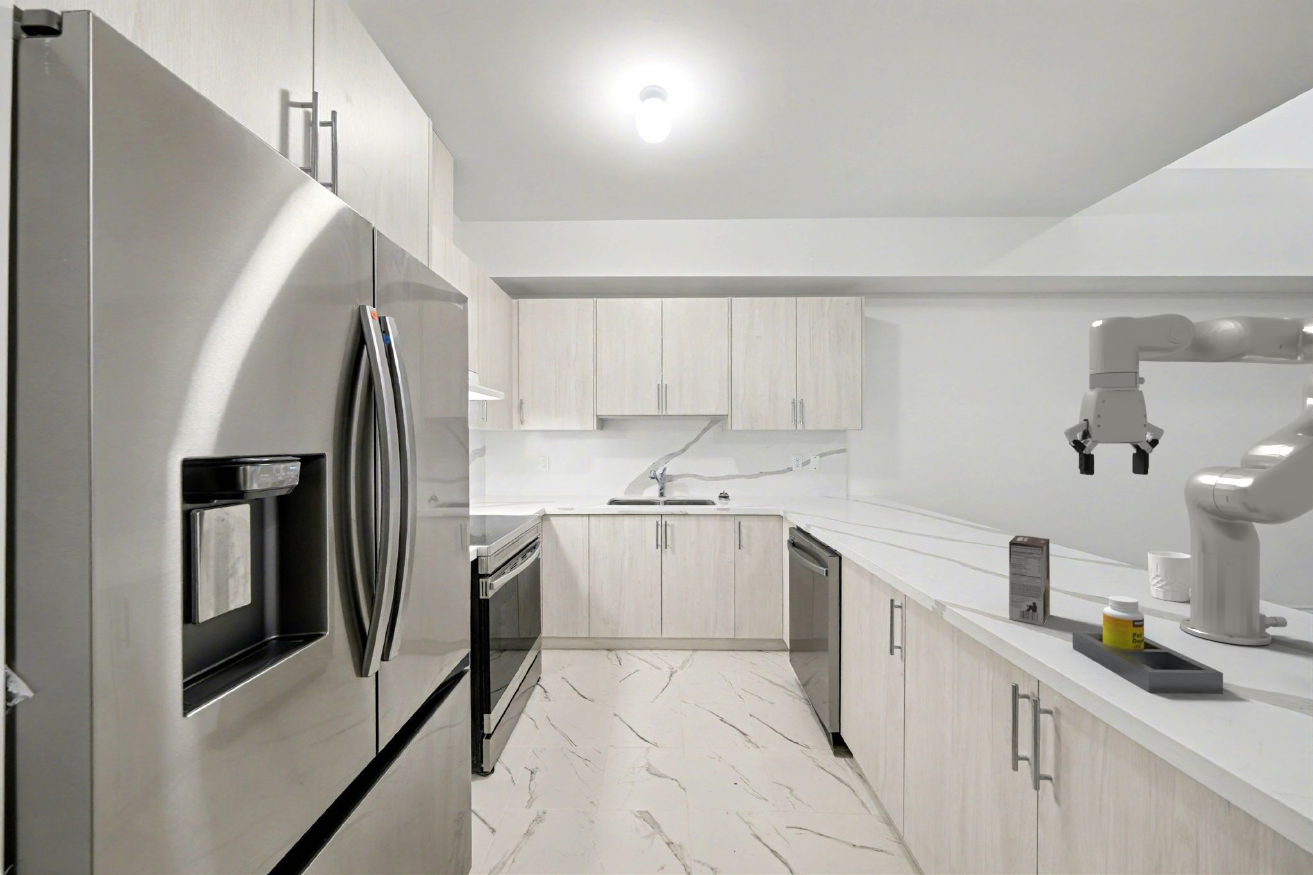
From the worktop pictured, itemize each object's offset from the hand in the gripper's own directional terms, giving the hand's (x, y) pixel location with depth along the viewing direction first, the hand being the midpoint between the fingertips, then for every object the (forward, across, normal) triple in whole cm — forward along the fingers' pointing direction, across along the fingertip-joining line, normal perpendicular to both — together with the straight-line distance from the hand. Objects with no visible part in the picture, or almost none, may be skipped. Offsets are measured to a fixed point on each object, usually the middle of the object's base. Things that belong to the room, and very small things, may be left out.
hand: (1113, 474), depth 115 cm
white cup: (+31, -29, -25) cm, 49 cm away
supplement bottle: (+31, +7, +13) cm, 34 cm away
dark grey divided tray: (+30, +7, +17) cm, 35 cm away
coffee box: (+31, +10, -10) cm, 34 cm away
